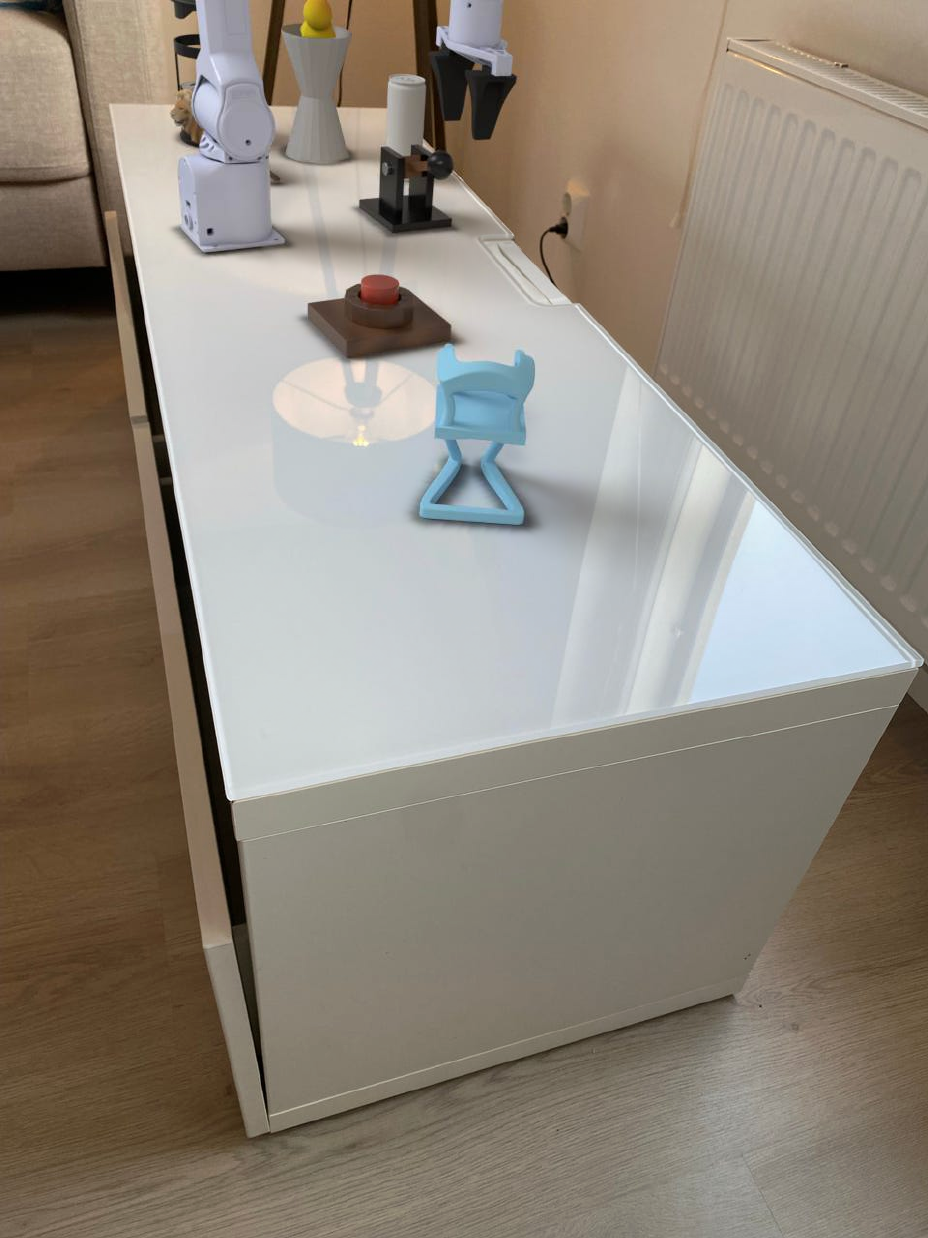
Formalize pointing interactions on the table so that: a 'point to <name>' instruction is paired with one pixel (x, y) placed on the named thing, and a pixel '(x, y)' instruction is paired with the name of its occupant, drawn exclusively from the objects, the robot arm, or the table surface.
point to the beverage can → (405, 113)
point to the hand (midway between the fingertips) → (466, 129)
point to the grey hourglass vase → (316, 84)
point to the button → (379, 289)
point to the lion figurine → (191, 119)
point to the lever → (429, 165)
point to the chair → (479, 428)
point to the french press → (185, 51)
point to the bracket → (404, 196)
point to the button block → (377, 323)
